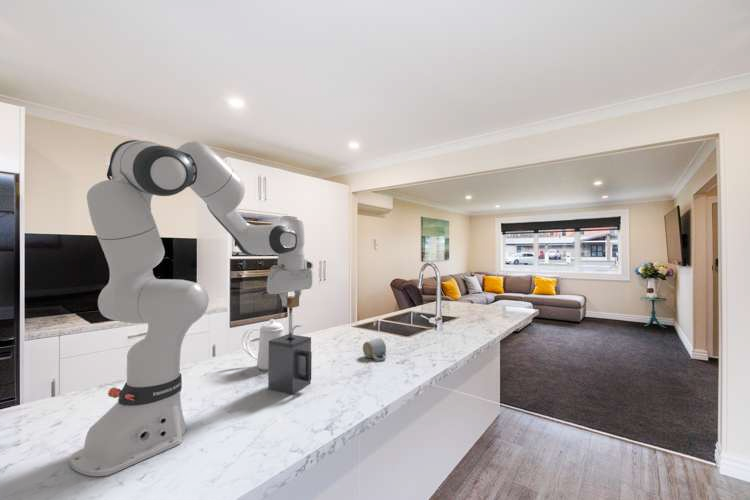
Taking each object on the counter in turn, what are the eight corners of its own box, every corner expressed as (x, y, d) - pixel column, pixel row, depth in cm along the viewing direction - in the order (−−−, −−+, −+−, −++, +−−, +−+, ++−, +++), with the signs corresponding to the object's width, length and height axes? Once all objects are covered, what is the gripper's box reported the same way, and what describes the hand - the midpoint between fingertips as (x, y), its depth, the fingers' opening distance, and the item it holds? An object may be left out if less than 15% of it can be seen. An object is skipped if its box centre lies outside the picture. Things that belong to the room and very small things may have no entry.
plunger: (291, 357, 110) (292, 299, 110) (275, 354, 112) (276, 297, 113) (304, 351, 116) (304, 296, 116) (288, 349, 119) (289, 295, 119)
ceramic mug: (361, 356, 148) (361, 338, 148) (376, 353, 153) (376, 336, 153) (375, 363, 139) (375, 344, 139) (390, 359, 144) (391, 341, 144)
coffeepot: (298, 372, 127) (298, 323, 127) (235, 369, 130) (236, 321, 130) (307, 363, 138) (307, 317, 138) (249, 360, 140) (249, 316, 141)
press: (300, 396, 106) (301, 345, 106) (268, 389, 112) (268, 340, 112) (318, 385, 115) (318, 338, 115) (287, 379, 121) (288, 334, 121)
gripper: (277, 265, 104) (277, 310, 104) (315, 263, 122) (315, 301, 122) (262, 265, 106) (261, 308, 106) (301, 263, 125) (301, 300, 125)
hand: (290, 304), depth 114 cm, fingers closed on plunger, 4 cm apart
